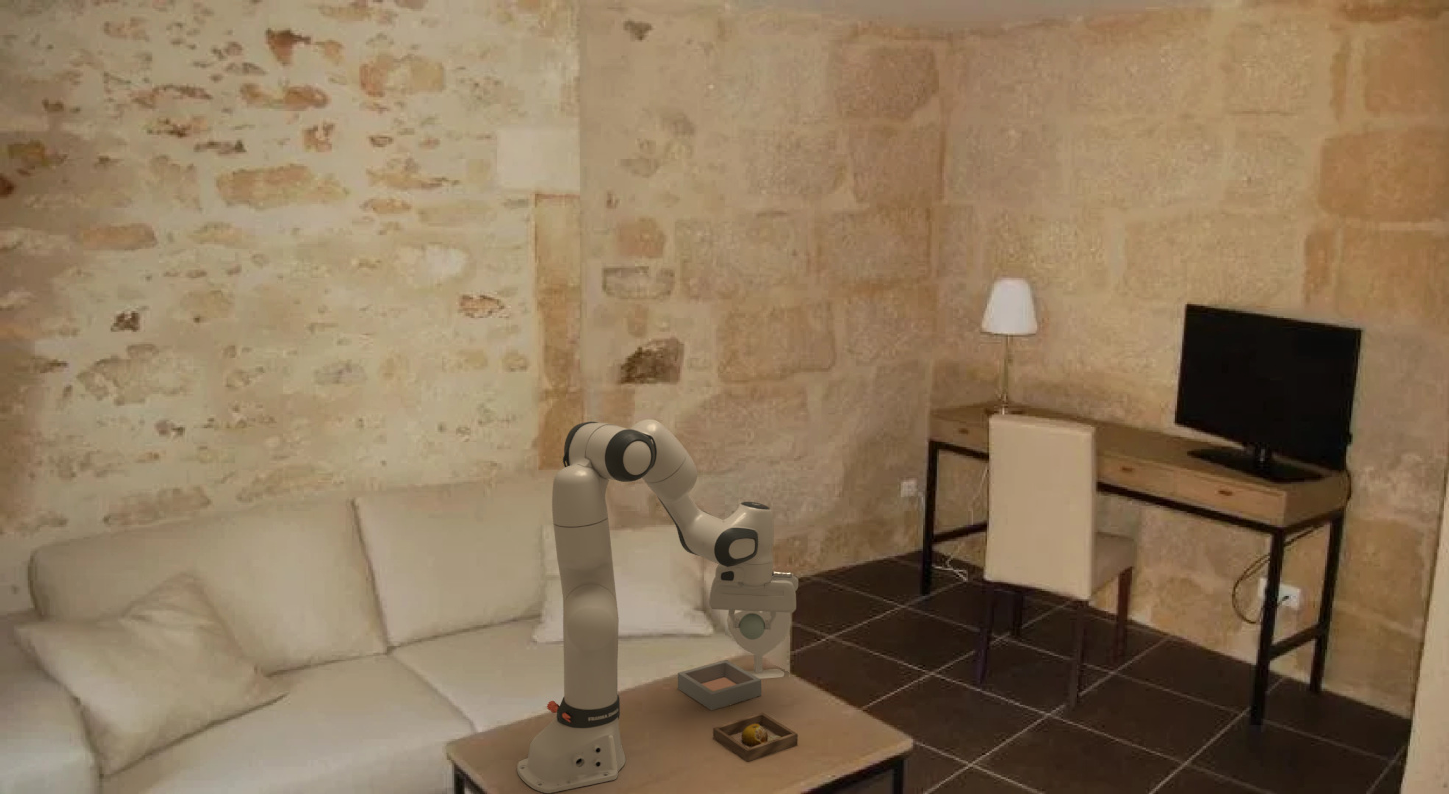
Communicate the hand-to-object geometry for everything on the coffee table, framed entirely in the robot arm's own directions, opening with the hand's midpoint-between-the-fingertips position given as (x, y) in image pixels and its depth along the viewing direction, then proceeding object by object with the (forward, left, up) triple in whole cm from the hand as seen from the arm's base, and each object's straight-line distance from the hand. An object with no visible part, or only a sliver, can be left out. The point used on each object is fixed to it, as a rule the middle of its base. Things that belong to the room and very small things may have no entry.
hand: (751, 628), depth 261 cm
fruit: (-10, -17, -19) cm, 28 cm away
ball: (0, 0, 0) cm, 0 cm away
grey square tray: (-2, +9, -19) cm, 21 cm away
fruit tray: (-10, -16, -19) cm, 27 cm away
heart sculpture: (+12, +12, -19) cm, 25 cm away
